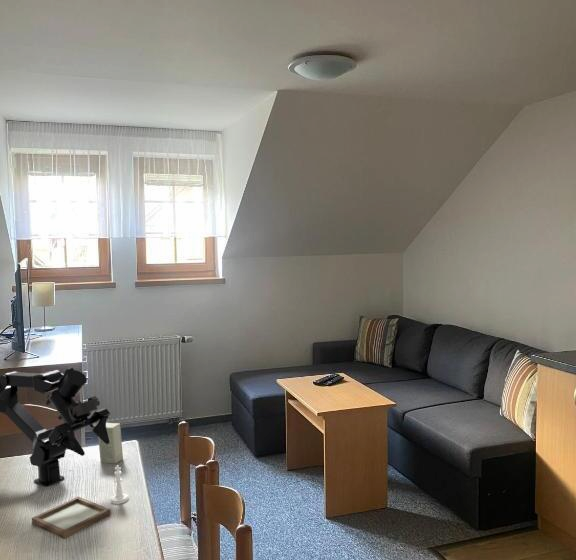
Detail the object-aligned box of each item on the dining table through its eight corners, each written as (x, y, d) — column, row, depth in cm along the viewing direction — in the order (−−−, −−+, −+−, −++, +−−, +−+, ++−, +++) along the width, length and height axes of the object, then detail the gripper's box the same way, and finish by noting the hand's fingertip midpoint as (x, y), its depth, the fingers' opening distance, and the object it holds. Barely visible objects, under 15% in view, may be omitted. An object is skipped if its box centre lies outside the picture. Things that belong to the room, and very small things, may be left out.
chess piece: (123, 504, 160) (121, 469, 159) (107, 503, 161) (105, 468, 160) (131, 496, 164) (129, 462, 164) (115, 495, 165) (113, 461, 165)
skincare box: (123, 458, 192) (121, 423, 191) (115, 464, 188) (113, 427, 186) (107, 456, 194) (105, 421, 193) (99, 462, 190) (96, 426, 188)
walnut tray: (32, 523, 150) (31, 517, 150) (78, 501, 162) (78, 496, 162) (64, 538, 143) (63, 532, 142) (110, 514, 154) (110, 509, 154)
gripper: (52, 398, 158) (83, 443, 154) (104, 381, 174) (133, 422, 170) (35, 422, 163) (65, 467, 158) (87, 404, 179) (115, 444, 174)
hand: (96, 449), depth 165 cm, fingers open, 9 cm apart
